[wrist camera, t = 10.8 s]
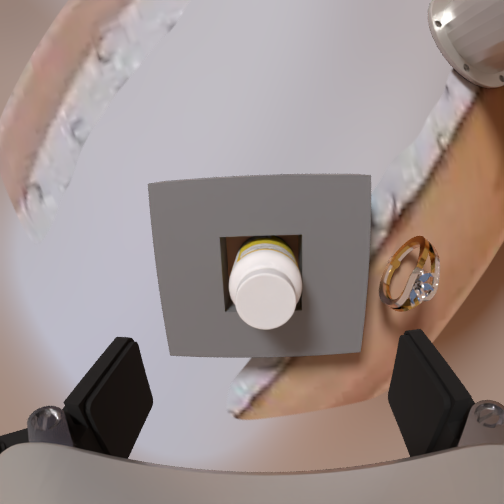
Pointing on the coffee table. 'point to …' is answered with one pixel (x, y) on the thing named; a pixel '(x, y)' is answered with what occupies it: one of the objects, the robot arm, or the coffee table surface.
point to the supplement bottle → (265, 282)
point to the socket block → (262, 224)
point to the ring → (412, 276)
